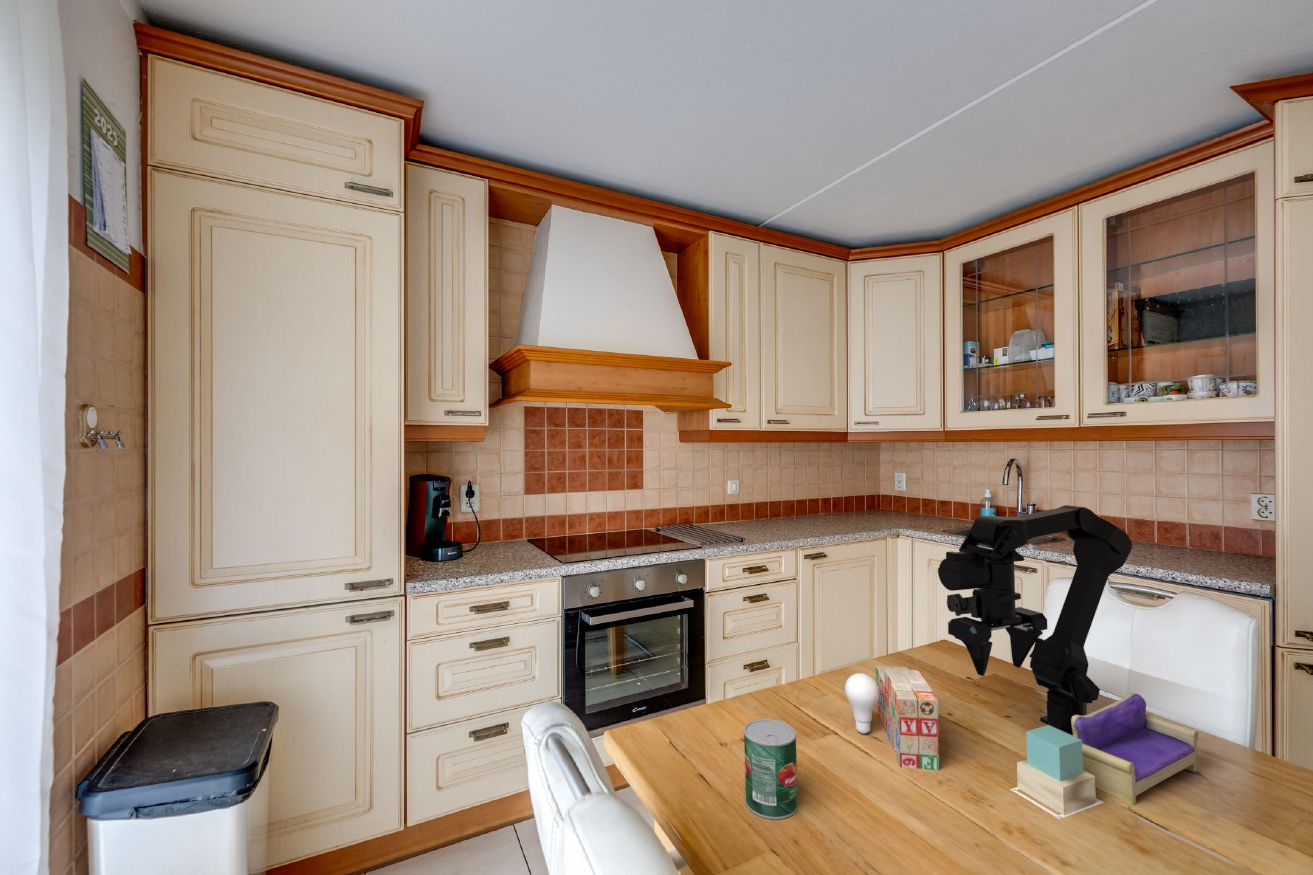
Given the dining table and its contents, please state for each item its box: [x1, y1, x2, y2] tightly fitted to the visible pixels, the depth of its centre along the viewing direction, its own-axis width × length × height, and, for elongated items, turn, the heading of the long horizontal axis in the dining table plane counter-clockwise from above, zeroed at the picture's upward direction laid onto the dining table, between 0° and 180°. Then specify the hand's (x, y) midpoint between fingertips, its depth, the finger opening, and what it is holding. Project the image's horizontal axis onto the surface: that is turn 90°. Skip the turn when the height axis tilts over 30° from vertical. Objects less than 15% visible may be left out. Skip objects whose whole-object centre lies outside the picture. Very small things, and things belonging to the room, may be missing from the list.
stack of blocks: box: [875, 665, 940, 771], centre depth 105 cm, size 21×6×12 cm, turn 169°
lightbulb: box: [844, 672, 880, 735], centre depth 107 cm, size 6×6×11 cm
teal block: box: [1025, 724, 1083, 782], centre depth 87 cm, size 5×5×5 cm
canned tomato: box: [743, 718, 799, 821], centre depth 87 cm, size 8×8×11 cm
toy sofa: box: [1071, 691, 1199, 806], centre depth 92 cm, size 21×9×10 cm, turn 116°
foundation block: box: [1016, 758, 1097, 815], centre depth 86 cm, size 7×7×4 cm
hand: (999, 670), depth 105 cm, fingers open, 9 cm apart
